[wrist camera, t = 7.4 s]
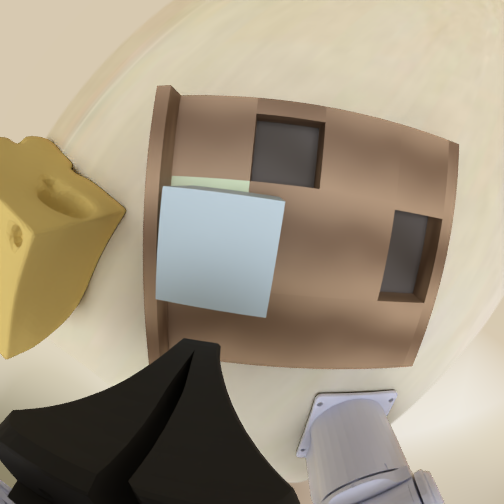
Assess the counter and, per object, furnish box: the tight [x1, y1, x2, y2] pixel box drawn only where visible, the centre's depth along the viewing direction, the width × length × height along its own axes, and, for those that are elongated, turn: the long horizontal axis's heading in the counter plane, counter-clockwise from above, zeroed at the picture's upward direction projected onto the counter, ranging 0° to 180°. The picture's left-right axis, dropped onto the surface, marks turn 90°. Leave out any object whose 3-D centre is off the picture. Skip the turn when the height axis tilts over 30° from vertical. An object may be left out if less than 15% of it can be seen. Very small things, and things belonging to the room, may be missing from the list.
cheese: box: [0, 136, 126, 359], centre depth 14 cm, size 10×11×10 cm
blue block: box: [156, 185, 285, 318], centre depth 14 cm, size 5×5×5 cm
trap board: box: [143, 85, 459, 369], centre depth 16 cm, size 17×19×4 cm
